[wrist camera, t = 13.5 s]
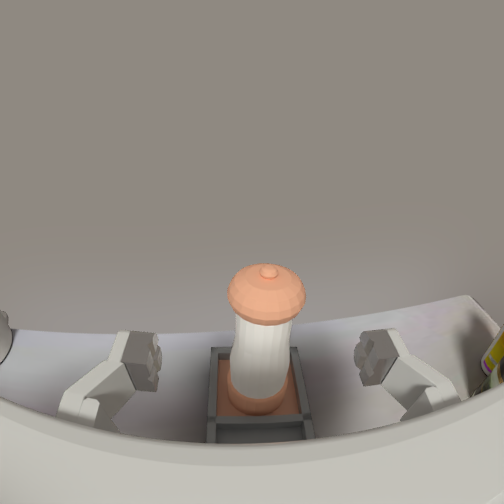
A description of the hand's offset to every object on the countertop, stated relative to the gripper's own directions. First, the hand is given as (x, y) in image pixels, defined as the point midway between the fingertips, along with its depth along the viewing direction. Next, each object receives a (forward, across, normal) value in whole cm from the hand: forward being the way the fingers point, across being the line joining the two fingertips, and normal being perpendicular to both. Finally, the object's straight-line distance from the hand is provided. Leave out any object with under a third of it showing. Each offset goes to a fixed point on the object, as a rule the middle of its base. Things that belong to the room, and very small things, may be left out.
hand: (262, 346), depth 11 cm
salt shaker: (+13, +2, -24) cm, 27 cm away
